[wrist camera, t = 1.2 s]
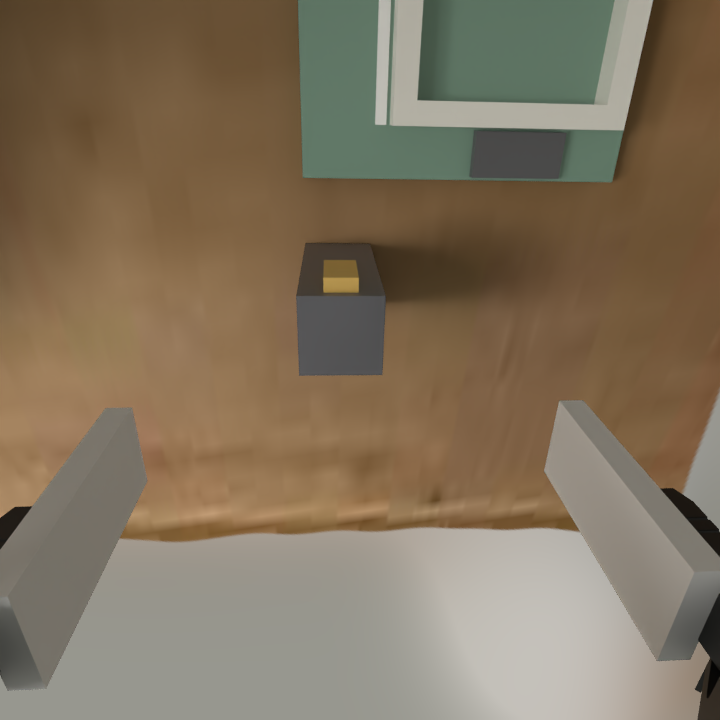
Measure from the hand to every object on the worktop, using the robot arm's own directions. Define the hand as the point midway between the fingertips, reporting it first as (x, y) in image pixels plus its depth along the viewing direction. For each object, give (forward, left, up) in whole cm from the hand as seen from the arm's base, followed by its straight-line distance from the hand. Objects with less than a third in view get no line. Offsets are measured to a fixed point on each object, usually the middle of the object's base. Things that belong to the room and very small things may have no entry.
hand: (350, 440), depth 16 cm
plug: (0, 0, -19) cm, 19 cm away
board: (+7, +13, -18) cm, 24 cm away
